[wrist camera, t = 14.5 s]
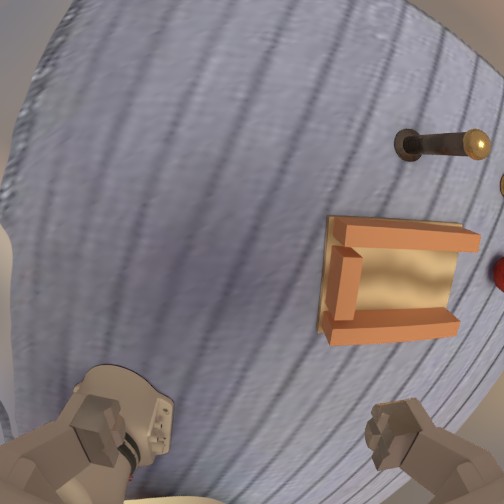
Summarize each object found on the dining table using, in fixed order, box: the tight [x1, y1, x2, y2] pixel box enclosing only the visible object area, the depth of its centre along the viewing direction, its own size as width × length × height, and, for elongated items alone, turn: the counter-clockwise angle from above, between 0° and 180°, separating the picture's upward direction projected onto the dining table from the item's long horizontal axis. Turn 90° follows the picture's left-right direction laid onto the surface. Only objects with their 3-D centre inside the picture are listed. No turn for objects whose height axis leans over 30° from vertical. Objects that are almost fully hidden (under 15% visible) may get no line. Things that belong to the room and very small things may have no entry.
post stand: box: [394, 129, 491, 162], centre depth 29 cm, size 4×4×16 cm
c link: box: [322, 217, 481, 346], centre depth 38 cm, size 20×15×5 cm
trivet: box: [316, 215, 462, 333], centre depth 41 cm, size 16×21×1 cm
